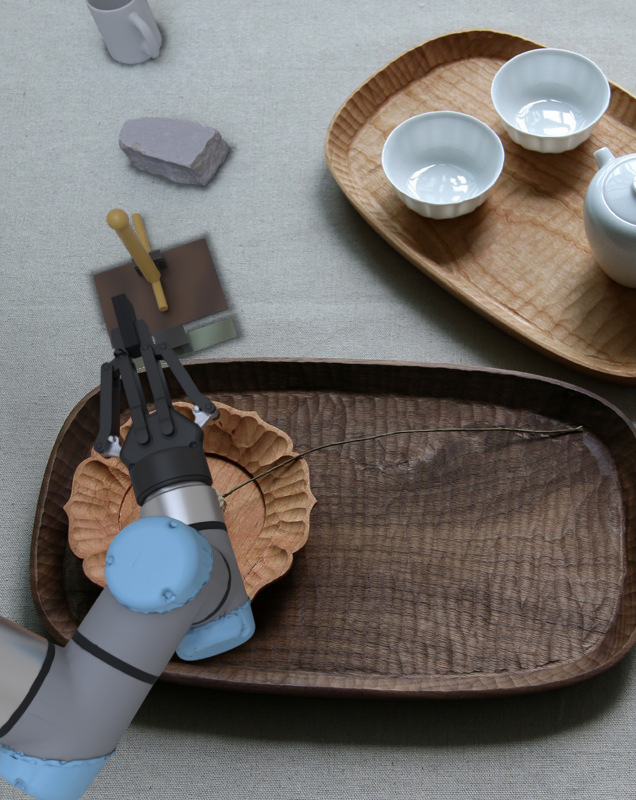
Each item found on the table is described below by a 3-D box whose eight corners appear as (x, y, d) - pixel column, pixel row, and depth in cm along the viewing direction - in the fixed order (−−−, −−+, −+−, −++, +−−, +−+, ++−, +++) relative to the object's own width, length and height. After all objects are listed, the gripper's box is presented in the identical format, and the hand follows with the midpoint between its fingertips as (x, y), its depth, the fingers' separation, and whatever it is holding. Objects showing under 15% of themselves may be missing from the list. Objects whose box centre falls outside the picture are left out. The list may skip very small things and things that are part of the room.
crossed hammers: (155, 314, 108) (112, 250, 94) (128, 221, 114) (83, 147, 100) (174, 307, 108) (134, 242, 94) (146, 215, 114) (104, 140, 100)
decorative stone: (231, 192, 118) (232, 136, 121) (219, 163, 111) (220, 104, 114) (131, 201, 118) (135, 144, 121) (113, 172, 112) (118, 113, 115)
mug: (100, 49, 129) (71, -9, 119) (143, 20, 131) (118, -39, 121) (145, 90, 125) (119, 33, 115) (188, 60, 127) (166, 1, 117)
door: (123, 381, 106) (112, 369, 103) (97, 280, 113) (85, 265, 109) (240, 341, 108) (232, 327, 104) (207, 243, 114) (199, 227, 110)
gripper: (126, 529, 82) (77, 336, 91) (248, 484, 84) (189, 298, 92) (97, 511, 76) (48, 304, 84) (231, 462, 77) (169, 263, 85)
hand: (122, 301), depth 88 cm, fingers closed
